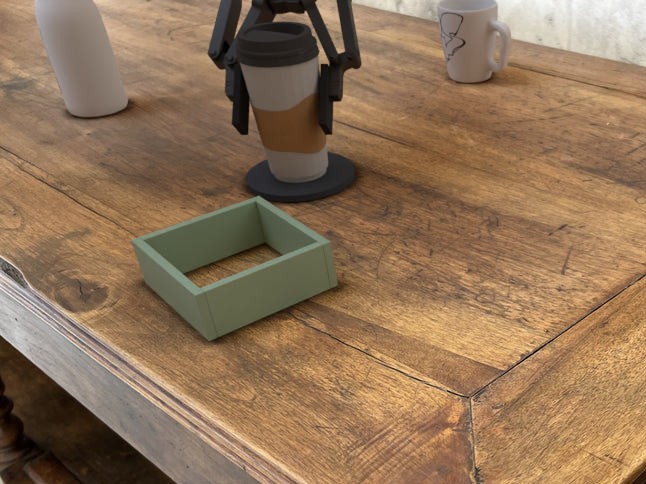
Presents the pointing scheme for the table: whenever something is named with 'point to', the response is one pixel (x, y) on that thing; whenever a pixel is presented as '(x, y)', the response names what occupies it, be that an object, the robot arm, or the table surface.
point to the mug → (472, 39)
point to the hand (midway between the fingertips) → (282, 129)
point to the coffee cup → (285, 97)
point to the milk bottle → (81, 56)
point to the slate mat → (328, 184)
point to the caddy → (242, 288)
